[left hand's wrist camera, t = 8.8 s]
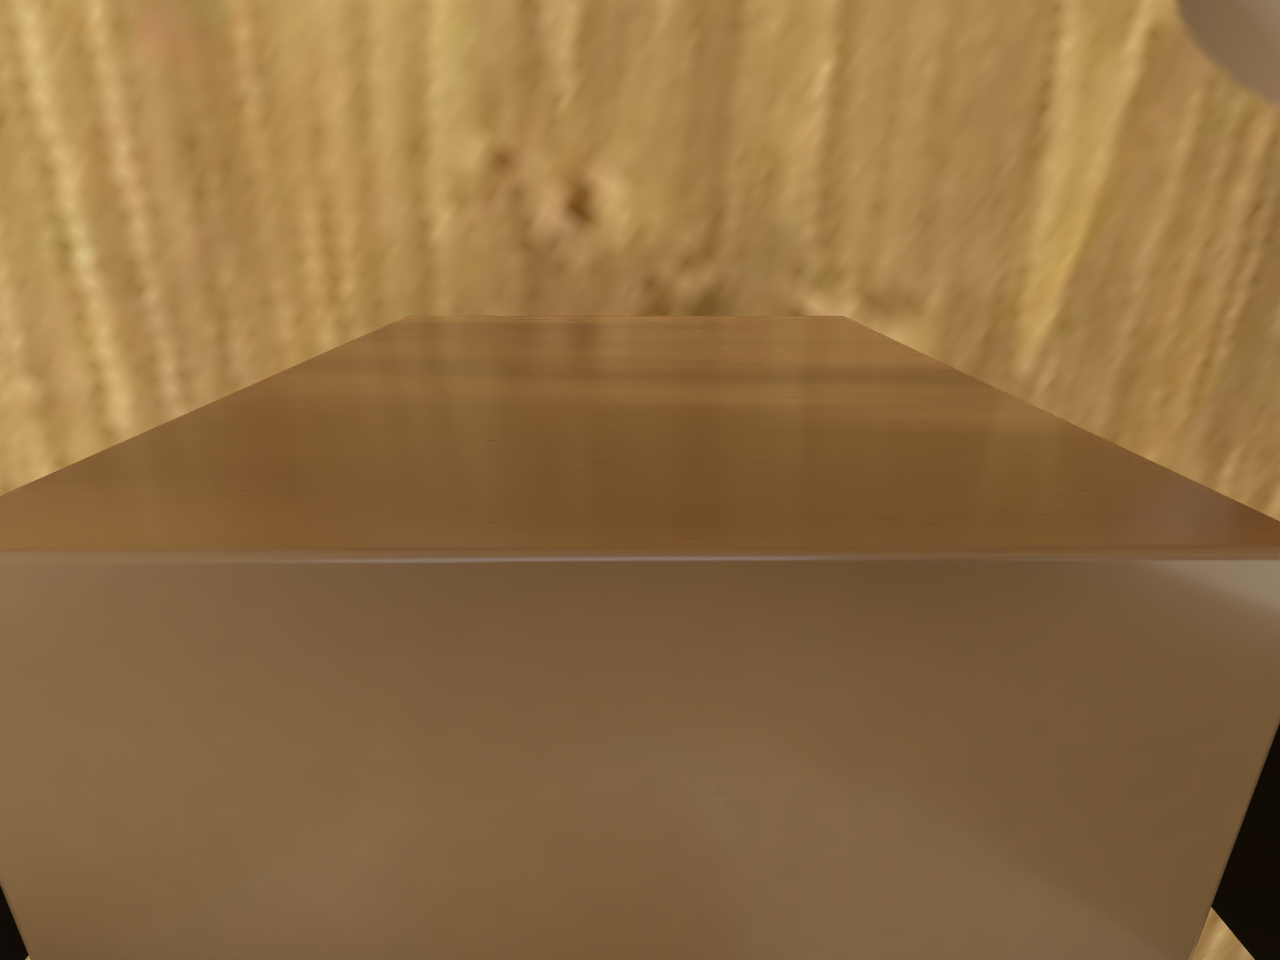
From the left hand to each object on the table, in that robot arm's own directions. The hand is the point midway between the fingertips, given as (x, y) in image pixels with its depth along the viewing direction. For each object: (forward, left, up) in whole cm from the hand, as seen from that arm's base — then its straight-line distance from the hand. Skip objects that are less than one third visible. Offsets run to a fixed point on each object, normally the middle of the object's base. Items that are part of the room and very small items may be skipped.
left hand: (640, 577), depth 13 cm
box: (+2, +7, -3) cm, 8 cm away
